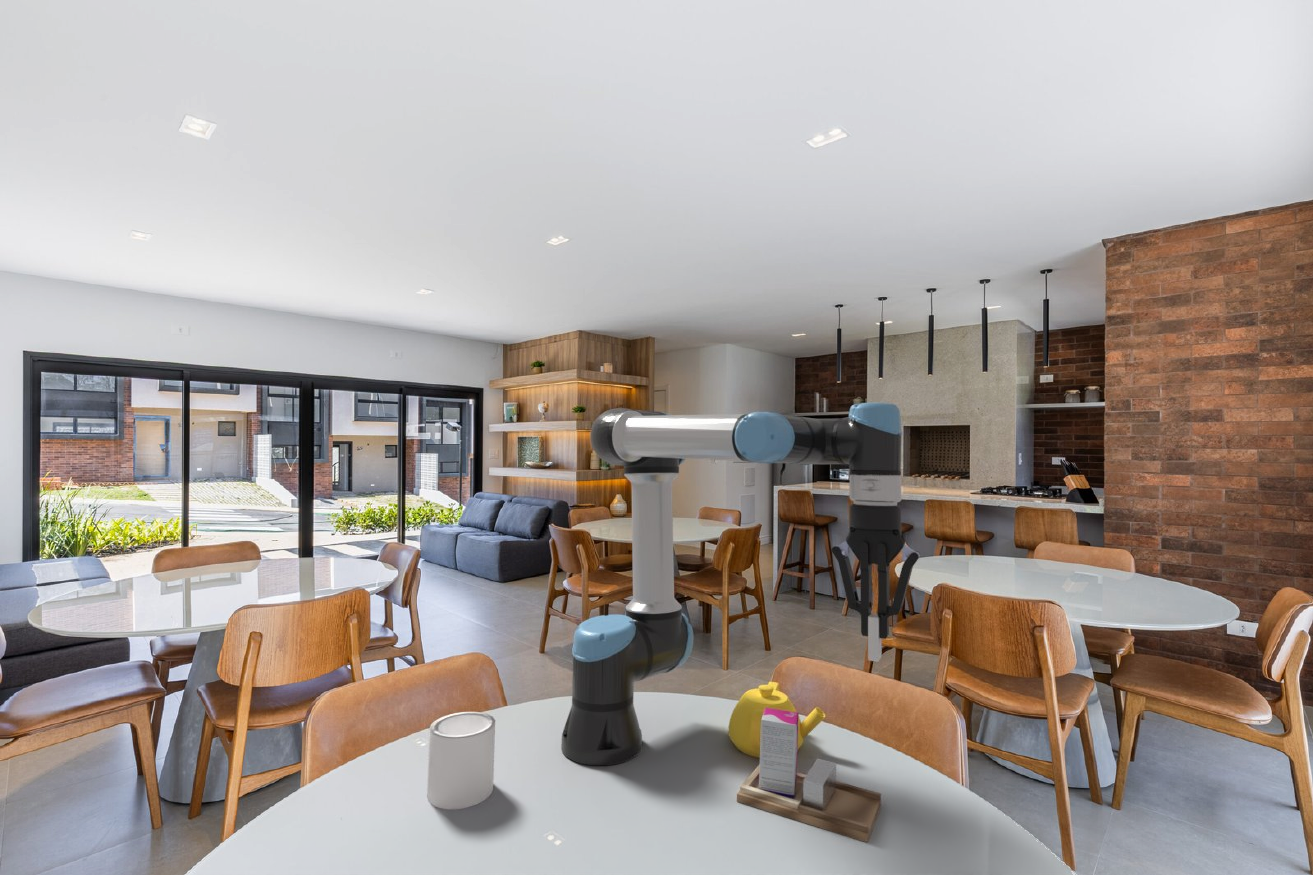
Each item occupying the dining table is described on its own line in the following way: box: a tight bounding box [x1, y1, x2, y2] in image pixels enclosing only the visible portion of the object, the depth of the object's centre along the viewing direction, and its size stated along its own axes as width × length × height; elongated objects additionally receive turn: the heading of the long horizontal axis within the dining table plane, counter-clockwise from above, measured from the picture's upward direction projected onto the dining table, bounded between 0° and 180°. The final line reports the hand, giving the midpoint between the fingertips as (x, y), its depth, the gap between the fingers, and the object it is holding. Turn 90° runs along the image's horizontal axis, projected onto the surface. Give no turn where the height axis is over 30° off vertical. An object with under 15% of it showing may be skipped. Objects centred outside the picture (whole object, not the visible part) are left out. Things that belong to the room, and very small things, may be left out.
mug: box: [426, 711, 496, 810], centre depth 100 cm, size 14×10×11 cm
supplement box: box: [759, 708, 800, 798], centre depth 99 cm, size 6×6×12 cm
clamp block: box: [802, 758, 837, 812], centre depth 96 cm, size 4×8×4 cm, turn 150°
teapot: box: [727, 680, 827, 759], centre depth 116 cm, size 20×18×11 cm
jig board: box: [736, 763, 882, 843], centre depth 96 cm, size 20×11×2 cm, turn 60°
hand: (874, 658), depth 92 cm, fingers closed
